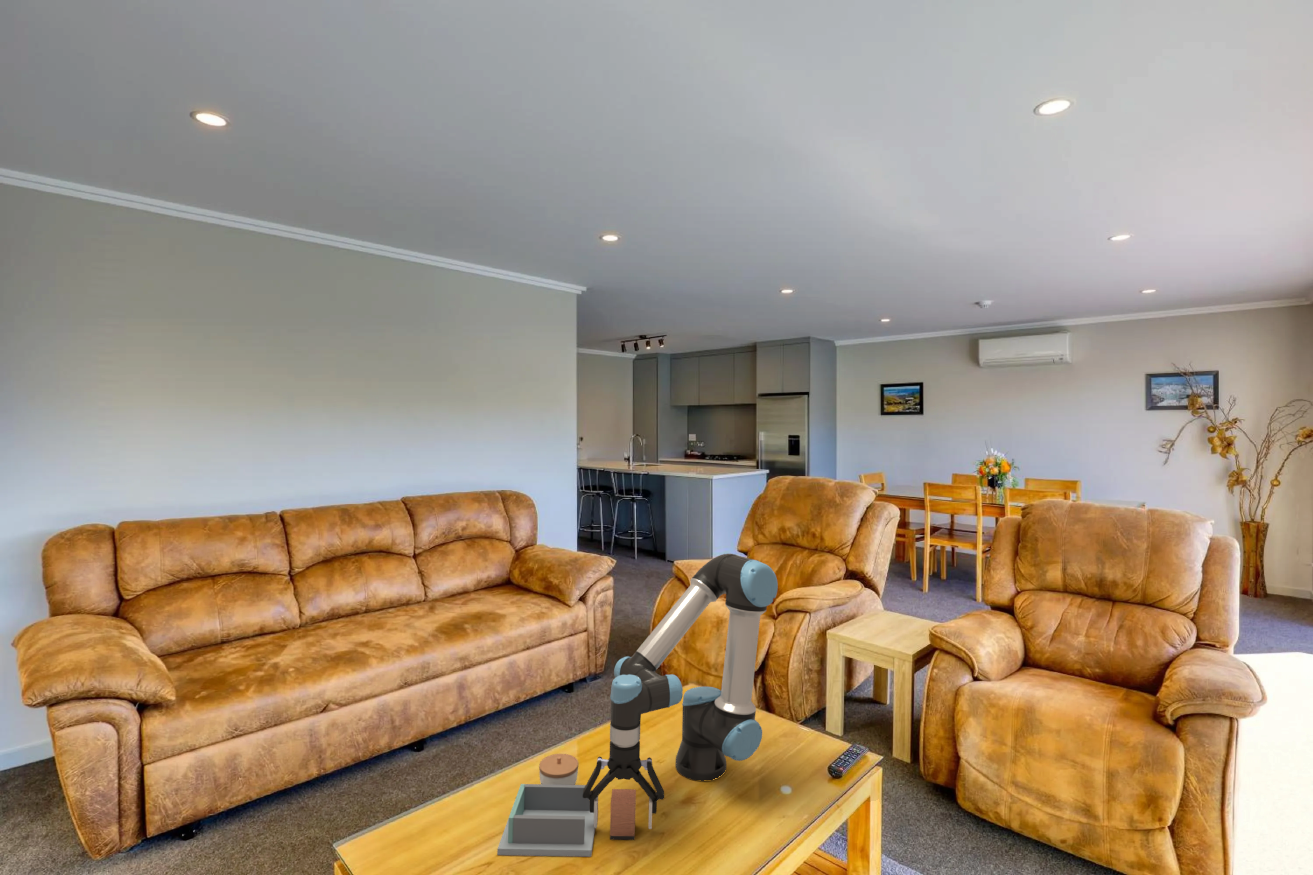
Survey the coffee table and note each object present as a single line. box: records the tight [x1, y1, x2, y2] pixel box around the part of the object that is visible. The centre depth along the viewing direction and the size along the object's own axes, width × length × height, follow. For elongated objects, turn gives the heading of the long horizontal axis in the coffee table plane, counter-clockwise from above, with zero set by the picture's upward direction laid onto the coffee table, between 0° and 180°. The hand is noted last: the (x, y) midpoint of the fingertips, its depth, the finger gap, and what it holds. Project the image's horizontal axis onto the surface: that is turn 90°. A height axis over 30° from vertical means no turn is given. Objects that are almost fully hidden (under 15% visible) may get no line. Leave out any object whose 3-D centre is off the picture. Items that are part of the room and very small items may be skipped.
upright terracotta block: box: [609, 788, 637, 841], centre depth 153 cm, size 6×6×9 cm
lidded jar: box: [538, 753, 579, 785], centre depth 169 cm, size 11×11×9 cm
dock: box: [496, 783, 596, 858], centre depth 152 cm, size 22×18×8 cm
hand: (622, 824), depth 153 cm, fingers open, 13 cm apart
